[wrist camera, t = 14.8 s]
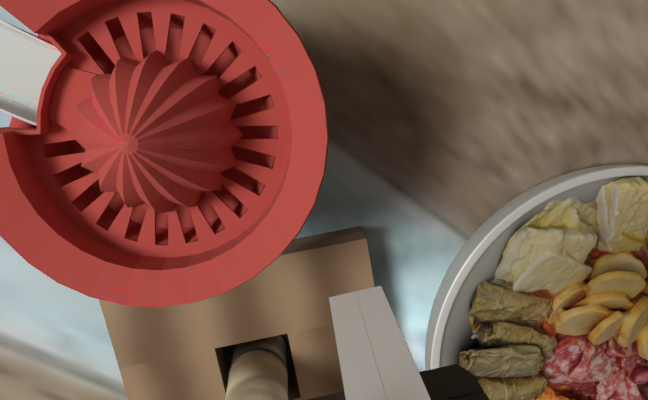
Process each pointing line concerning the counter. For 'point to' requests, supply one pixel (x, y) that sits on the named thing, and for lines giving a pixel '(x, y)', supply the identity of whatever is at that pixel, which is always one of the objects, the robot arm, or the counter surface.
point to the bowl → (553, 292)
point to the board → (245, 324)
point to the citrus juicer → (156, 143)
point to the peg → (259, 370)
